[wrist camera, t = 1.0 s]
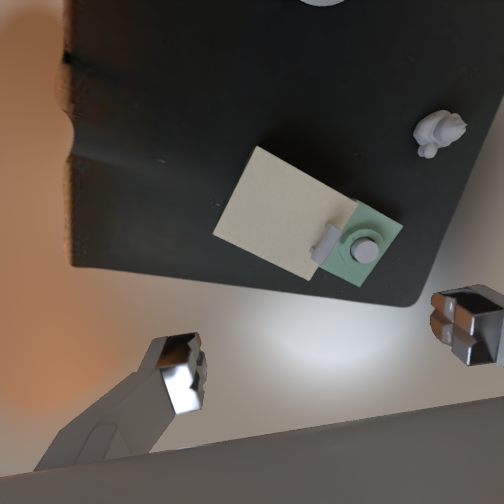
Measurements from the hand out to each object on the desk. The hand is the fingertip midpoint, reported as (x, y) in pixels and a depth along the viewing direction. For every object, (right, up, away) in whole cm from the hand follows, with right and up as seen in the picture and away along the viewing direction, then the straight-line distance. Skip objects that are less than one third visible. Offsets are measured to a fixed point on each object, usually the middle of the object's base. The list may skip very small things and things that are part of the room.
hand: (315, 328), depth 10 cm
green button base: (+15, +5, +38) cm, 41 cm away
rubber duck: (+24, +21, +33) cm, 46 cm away
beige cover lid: (+2, +7, +28) cm, 29 cm away
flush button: (+15, +3, +34) cm, 37 cm away
